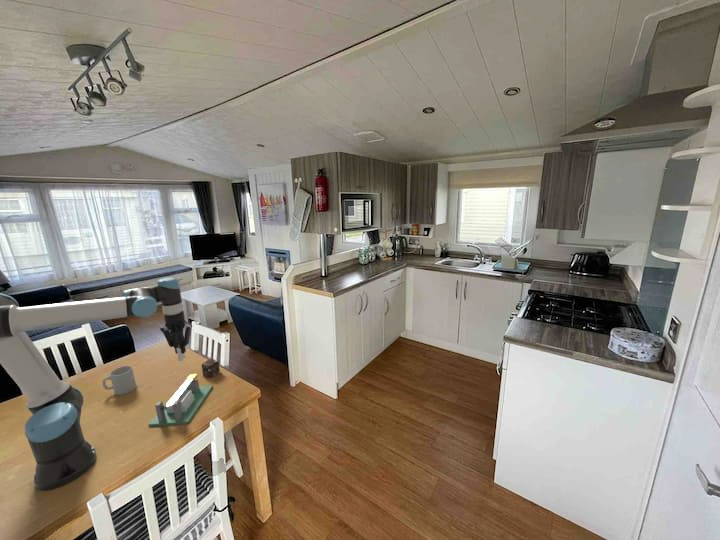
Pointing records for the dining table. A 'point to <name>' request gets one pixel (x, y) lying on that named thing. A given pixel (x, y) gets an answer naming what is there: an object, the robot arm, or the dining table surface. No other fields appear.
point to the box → (210, 368)
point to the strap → (179, 392)
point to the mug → (121, 380)
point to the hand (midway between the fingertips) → (181, 359)
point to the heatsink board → (185, 414)
